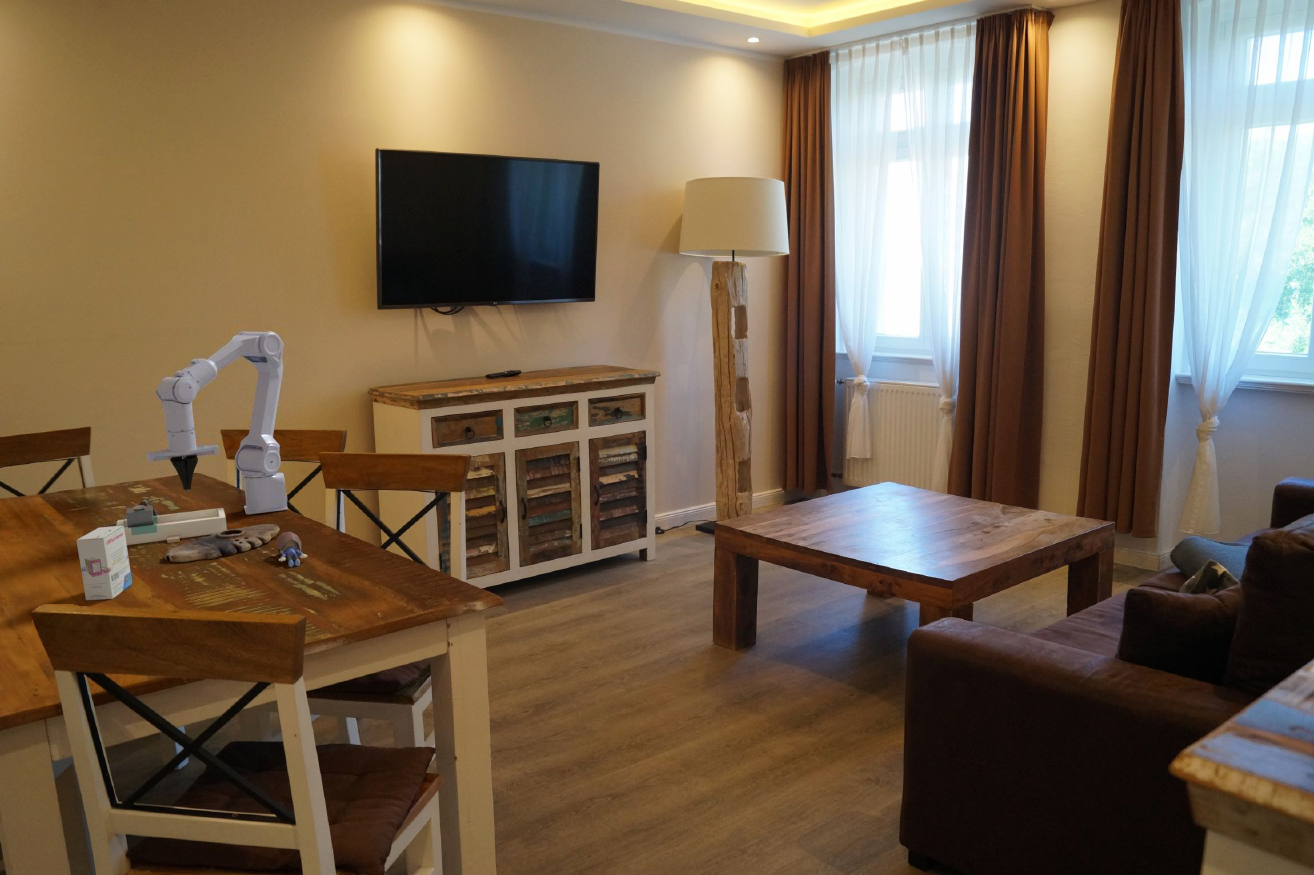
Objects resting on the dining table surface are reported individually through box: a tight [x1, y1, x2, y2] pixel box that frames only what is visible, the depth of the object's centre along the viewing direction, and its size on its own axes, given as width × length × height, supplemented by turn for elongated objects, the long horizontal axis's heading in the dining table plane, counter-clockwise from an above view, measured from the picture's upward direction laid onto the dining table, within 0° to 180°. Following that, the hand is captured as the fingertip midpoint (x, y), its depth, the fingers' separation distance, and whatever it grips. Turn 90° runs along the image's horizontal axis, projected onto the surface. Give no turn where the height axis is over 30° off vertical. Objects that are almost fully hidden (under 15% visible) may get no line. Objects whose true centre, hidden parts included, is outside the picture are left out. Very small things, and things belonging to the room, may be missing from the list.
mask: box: [164, 523, 280, 563], centre depth 208 cm, size 15×3×25 cm
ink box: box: [76, 526, 133, 601], centre depth 180 cm, size 9×5×12 cm, turn 5°
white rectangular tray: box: [116, 507, 228, 546], centre depth 218 cm, size 22×13×4 cm, turn 117°
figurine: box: [275, 531, 308, 568], centre depth 199 cm, size 6×5×12 cm
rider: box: [125, 504, 154, 528], centre depth 216 cm, size 5×5×5 cm
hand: (187, 488), depth 220 cm, fingers closed
